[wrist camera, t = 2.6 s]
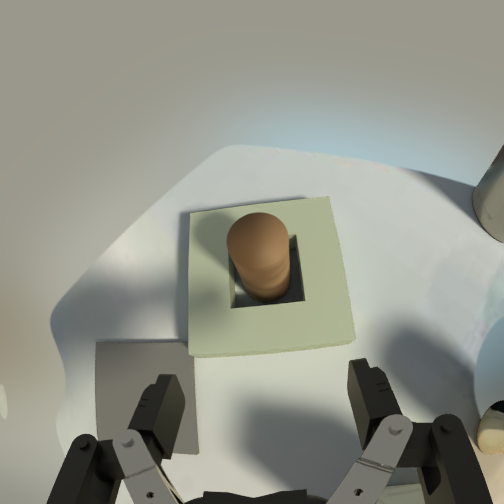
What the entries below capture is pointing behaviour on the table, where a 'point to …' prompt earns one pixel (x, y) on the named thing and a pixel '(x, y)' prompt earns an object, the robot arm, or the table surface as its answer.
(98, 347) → the rubber mat
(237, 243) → the walnut pin
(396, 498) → the skincare box
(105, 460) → the robot arm
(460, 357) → the table surface
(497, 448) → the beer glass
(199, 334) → the collar block
